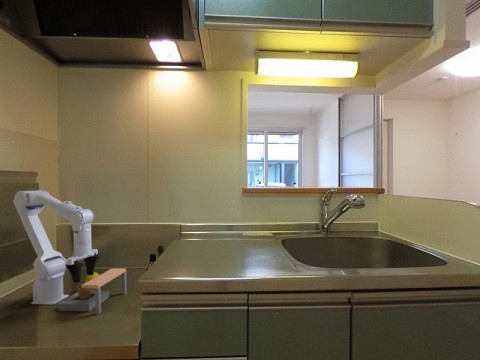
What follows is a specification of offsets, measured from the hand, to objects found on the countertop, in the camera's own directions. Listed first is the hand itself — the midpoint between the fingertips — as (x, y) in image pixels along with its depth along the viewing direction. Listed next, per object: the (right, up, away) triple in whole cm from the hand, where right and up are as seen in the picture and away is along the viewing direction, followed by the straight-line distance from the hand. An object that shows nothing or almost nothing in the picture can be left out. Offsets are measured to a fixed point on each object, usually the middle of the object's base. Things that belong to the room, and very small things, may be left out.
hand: (83, 278), depth 104 cm
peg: (0, -9, 0) cm, 9 cm away
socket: (0, -9, 0) cm, 9 cm away
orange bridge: (+8, -9, 0) cm, 12 cm away
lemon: (-3, -10, +13) cm, 16 cm away
